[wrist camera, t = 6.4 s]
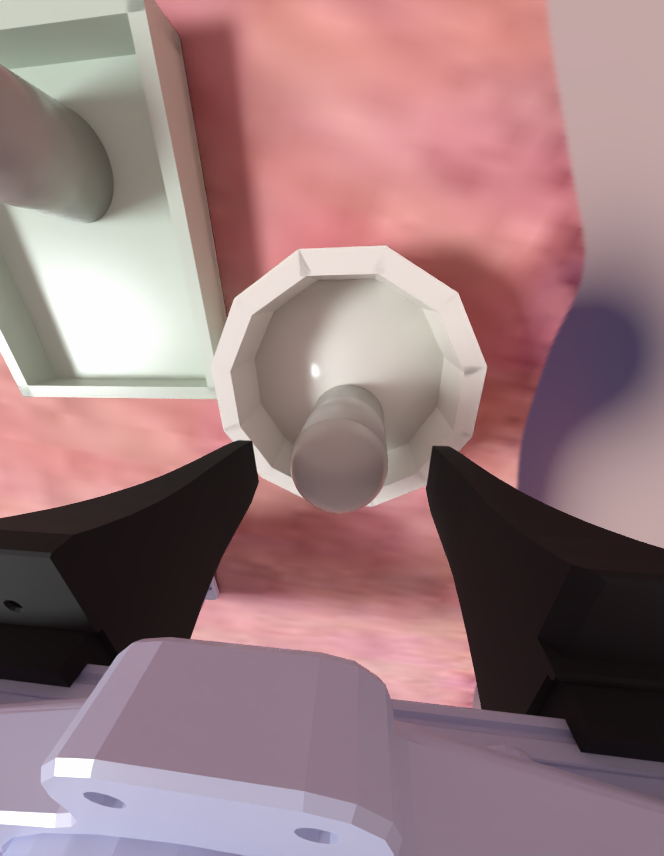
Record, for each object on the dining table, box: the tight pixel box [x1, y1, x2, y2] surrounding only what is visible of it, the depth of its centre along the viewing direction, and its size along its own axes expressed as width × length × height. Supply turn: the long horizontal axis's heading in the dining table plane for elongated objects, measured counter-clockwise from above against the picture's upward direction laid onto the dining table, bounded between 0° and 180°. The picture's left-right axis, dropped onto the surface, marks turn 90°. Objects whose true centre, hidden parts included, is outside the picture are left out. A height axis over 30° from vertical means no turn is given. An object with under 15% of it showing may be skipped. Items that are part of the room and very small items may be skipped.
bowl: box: [211, 246, 487, 507], centre depth 13 cm, size 11×11×4 cm
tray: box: [0, 0, 227, 399], centre depth 12 cm, size 13×11×2 cm
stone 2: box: [290, 385, 388, 514], centre depth 12 cm, size 4×4×6 cm
